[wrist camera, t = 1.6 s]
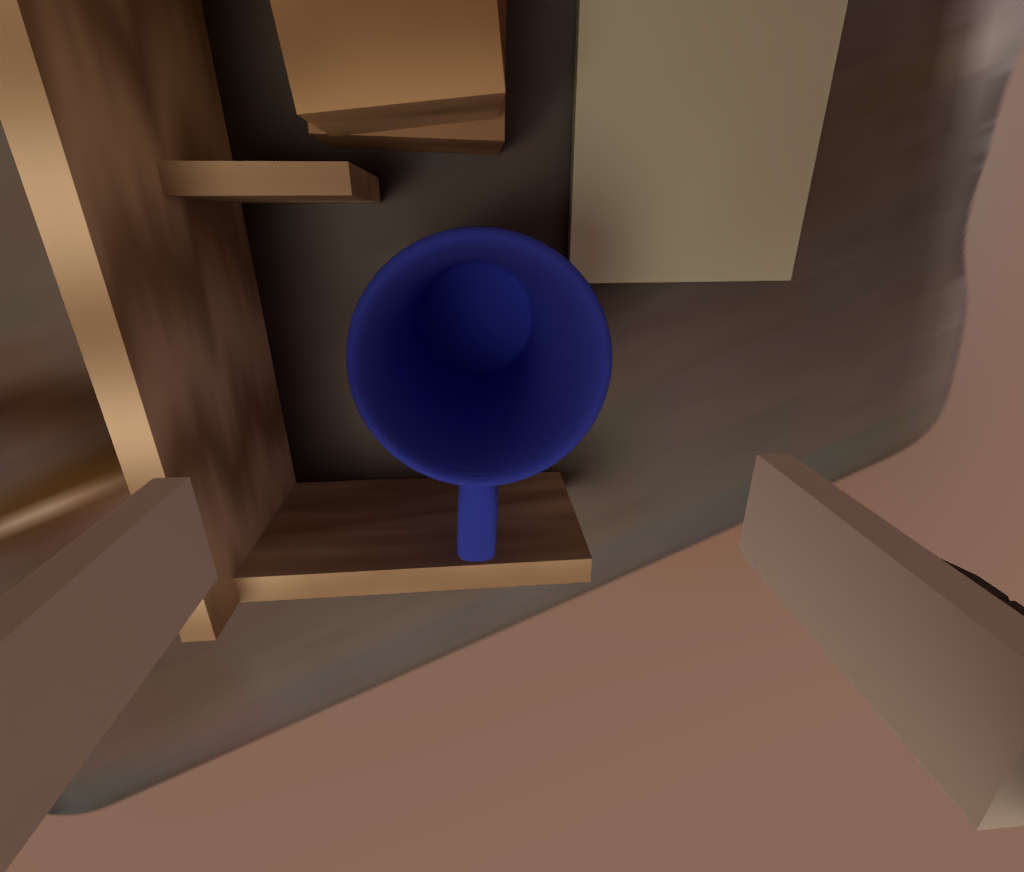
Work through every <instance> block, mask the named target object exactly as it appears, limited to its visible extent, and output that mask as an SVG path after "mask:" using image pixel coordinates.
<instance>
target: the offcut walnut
mask: <svg viewBox="0 0 1024 872" xmlns="http://www.w3.org/2000/svg"><path fill="white" fill-rule="evenodd" d="M497 6H498V17H499V28H500V38H501V49H502V60H503V71H504V81H505V79H506V10H507V0H497ZM308 129H309V134H311V135H313V136H314V137H316V138H318V139H320V140H321V141H323V142H325V143H326V144H328V145H330V146H332V147H333V148H336V149H363V150H391V151H418V152H445V153H473V154H499V153H500V150H501V148H502V146H503V143H504V141H505V96H504V99H503V102H502V105H501V108H500V112H499V115H498V118H497V119H490V120H481V121H472V122H462V123H453V124H444V125H435V126H425V127H416V128H407V129H398V130H389V131H379V132H370V133H361V134H351V135H342V136H333V137H331V136H330V135H328V134H327V133H325V132H323V131H322V130H320V129H319V128H317V127H316V126H314V125H313V124H311V123H309V122H308Z"/></svg>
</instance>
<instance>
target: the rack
mask: <svg viewBox="0 0 1024 872" xmlns="http://www.w3.org/2000/svg"><path fill="white" fill-rule="evenodd" d="M0 119H1V122H2V125H3V128H4V131H5V134H6V137H7V140H8V142H9V145H10V148H11V151H12V154H13V157H14V160H15V163H16V165H17V168H18V171H19V174H20V177H21V180H22V183H23V186H24V188H25V191H26V194H27V197H28V200H29V203H30V206H31V209H32V212H33V214H34V217H35V220H36V223H37V226H38V229H39V232H40V235H41V237H42V240H43V243H44V246H45V249H46V252H47V255H48V258H49V260H50V263H51V266H52V269H53V272H54V275H55V278H56V281H57V283H58V286H59V289H60V292H61V295H62V298H63V301H64V304H65V306H66V309H67V312H68V315H69V318H70V321H71V324H72V327H73V330H74V332H75V335H76V338H77V341H78V344H79V347H80V350H81V353H82V355H83V358H84V361H85V364H86V367H87V370H88V373H89V376H90V378H91V381H92V384H93V387H94V390H95V393H96V396H97V399H98V401H99V404H100V407H101V410H102V413H103V416H104V419H105V422H106V425H107V427H108V430H109V433H110V436H111V439H112V442H113V445H114V448H115V450H116V453H117V456H118V459H119V462H120V465H121V468H122V471H123V473H124V476H125V479H126V482H127V485H128V488H129V491H130V494H131V495H132V494H134V493H135V492H136V491H138V490H139V489H140V488H141V487H143V486H144V485H145V484H147V483H148V482H149V481H150V480H152V479H153V478H173V477H190V481H191V484H192V488H193V491H194V495H195V498H196V502H197V505H198V509H199V513H200V516H201V520H202V523H203V527H204V530H205V534H206V537H207V541H208V545H209V548H210V552H211V555H212V559H213V562H214V566H215V569H216V573H217V577H218V579H217V580H216V582H215V583H214V584H213V586H212V587H211V588H210V590H209V591H208V593H207V594H206V595H205V597H204V598H203V600H202V601H201V602H200V604H199V605H198V606H197V608H196V609H195V611H194V612H193V613H192V615H191V616H190V617H189V619H188V620H187V622H186V623H185V624H184V626H183V627H182V628H181V630H180V631H179V635H180V637H181V640H182V642H193V641H208V640H216V639H217V638H218V636H219V634H220V633H221V631H222V629H223V628H224V626H225V625H226V623H227V621H228V620H229V618H230V616H231V615H232V613H233V611H234V610H235V608H236V606H237V605H238V603H239V602H254V601H271V600H288V599H305V598H322V597H339V596H357V595H374V594H391V593H408V592H425V591H442V590H459V589H476V588H494V587H511V586H528V585H545V584H562V583H579V582H591V567H592V557H591V554H590V552H589V549H588V546H587V544H586V541H585V538H584V536H583V533H582V530H581V528H580V525H579V522H578V519H577V517H576V514H575V511H574V509H573V506H572V503H571V501H570V498H569V495H568V493H567V490H566V487H565V485H564V482H563V479H562V477H561V474H560V472H542V473H538V474H536V475H533V476H531V477H528V478H526V479H523V480H520V481H517V482H513V483H509V484H504V485H498V519H497V543H496V553H495V556H494V557H493V558H492V559H490V560H487V561H479V562H471V561H465V560H462V559H461V558H460V557H459V556H458V554H457V515H458V495H459V485H456V484H450V483H446V482H442V481H439V480H436V479H433V478H431V477H422V478H398V479H374V480H350V481H327V482H303V483H296V479H295V474H294V469H293V464H292V459H291V454H290V449H289V443H288V438H287V433H286V428H285V423H284V418H283V413H282V408H281V403H280V398H279V393H278V388H277V383H276V377H275V372H274V367H273V362H272V357H271V352H270V347H269V342H268V337H267V332H266V327H265V322H264V317H263V311H262V306H261V301H260V296H259V291H258V286H257V281H256V276H255V271H254V266H253V261H252V256H251V251H250V245H249V240H248V235H247V230H246V225H245V220H244V215H243V210H242V205H241V203H381V199H380V189H379V179H378V177H376V176H374V175H372V174H371V173H369V172H367V171H365V170H363V169H361V168H359V167H357V166H356V165H354V164H352V163H350V162H348V161H233V159H232V154H231V149H230V144H229V139H228V134H227V129H226V124H225V119H224V113H223V108H222V103H221V98H220V93H219V88H218V83H217V78H216V73H215V68H214V63H213V58H212V53H211V47H210V42H209V37H208V32H207V27H206V22H205V17H204V12H203V7H202V2H201V0H0Z"/></svg>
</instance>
